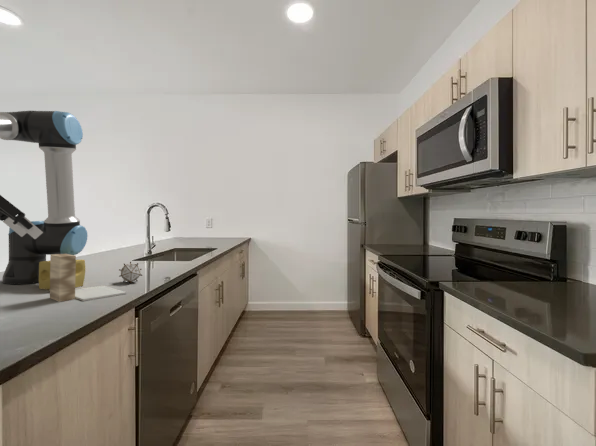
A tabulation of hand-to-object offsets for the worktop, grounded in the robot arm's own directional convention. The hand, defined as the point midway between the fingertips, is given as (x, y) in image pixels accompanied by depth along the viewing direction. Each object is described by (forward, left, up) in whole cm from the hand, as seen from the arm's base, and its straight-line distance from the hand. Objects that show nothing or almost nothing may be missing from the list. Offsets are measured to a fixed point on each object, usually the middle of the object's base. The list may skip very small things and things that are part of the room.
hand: (31, 234), depth 107 cm
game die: (-23, +31, -21) cm, 44 cm away
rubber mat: (-7, +17, -21) cm, 28 cm away
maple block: (-4, +8, -21) cm, 23 cm away
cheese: (-23, +8, -21) cm, 32 cm away
